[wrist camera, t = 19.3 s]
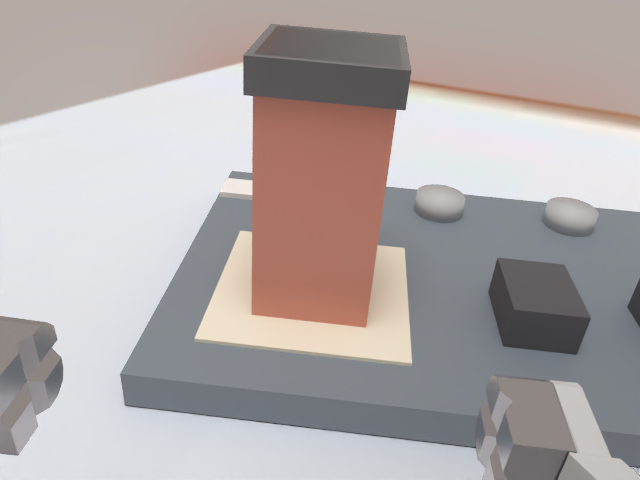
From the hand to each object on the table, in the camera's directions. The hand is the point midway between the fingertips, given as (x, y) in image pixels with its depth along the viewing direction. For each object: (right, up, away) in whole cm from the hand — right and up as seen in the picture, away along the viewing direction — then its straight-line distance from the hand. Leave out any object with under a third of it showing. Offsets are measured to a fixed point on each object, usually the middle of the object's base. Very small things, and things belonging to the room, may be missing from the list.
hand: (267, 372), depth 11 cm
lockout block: (+1, 0, +14) cm, 14 cm away
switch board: (+7, 0, +16) cm, 18 cm away
